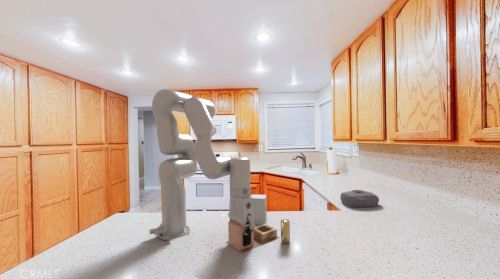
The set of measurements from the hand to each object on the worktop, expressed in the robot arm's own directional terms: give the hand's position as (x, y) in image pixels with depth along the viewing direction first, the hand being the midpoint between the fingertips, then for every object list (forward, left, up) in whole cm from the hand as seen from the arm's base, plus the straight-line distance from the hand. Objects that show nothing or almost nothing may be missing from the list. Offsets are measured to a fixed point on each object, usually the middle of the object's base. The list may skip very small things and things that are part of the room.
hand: (241, 240), depth 77 cm
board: (+5, 0, -2) cm, 6 cm away
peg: (+13, -9, -2) cm, 16 cm away
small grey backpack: (+82, -3, -3) cm, 82 cm away
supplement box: (+18, +13, -3) cm, 23 cm away
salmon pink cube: (0, 0, -1) cm, 1 cm away
